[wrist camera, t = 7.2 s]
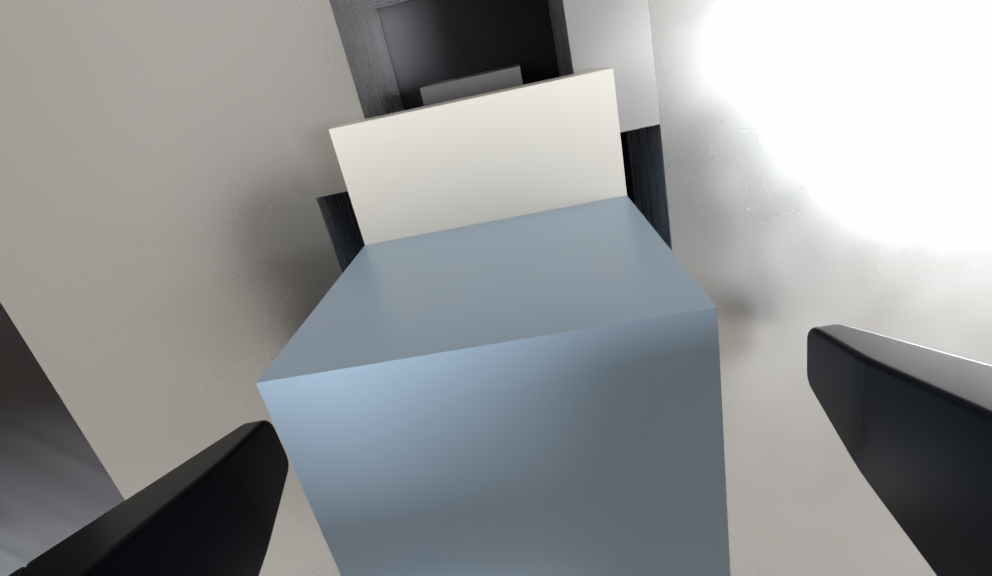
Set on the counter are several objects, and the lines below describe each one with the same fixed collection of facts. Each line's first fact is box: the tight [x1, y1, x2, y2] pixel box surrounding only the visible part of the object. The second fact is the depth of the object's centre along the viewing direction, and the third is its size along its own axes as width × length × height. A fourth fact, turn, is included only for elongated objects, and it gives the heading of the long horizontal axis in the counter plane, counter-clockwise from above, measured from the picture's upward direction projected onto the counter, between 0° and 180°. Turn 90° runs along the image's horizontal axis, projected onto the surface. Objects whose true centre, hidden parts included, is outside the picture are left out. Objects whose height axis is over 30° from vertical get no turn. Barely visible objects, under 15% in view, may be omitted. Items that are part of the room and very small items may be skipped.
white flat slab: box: [0, 0, 992, 576], centre depth 11 cm, size 18×16×3 cm
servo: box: [256, 64, 731, 576], centre depth 9 cm, size 4×10×8 cm, turn 12°
